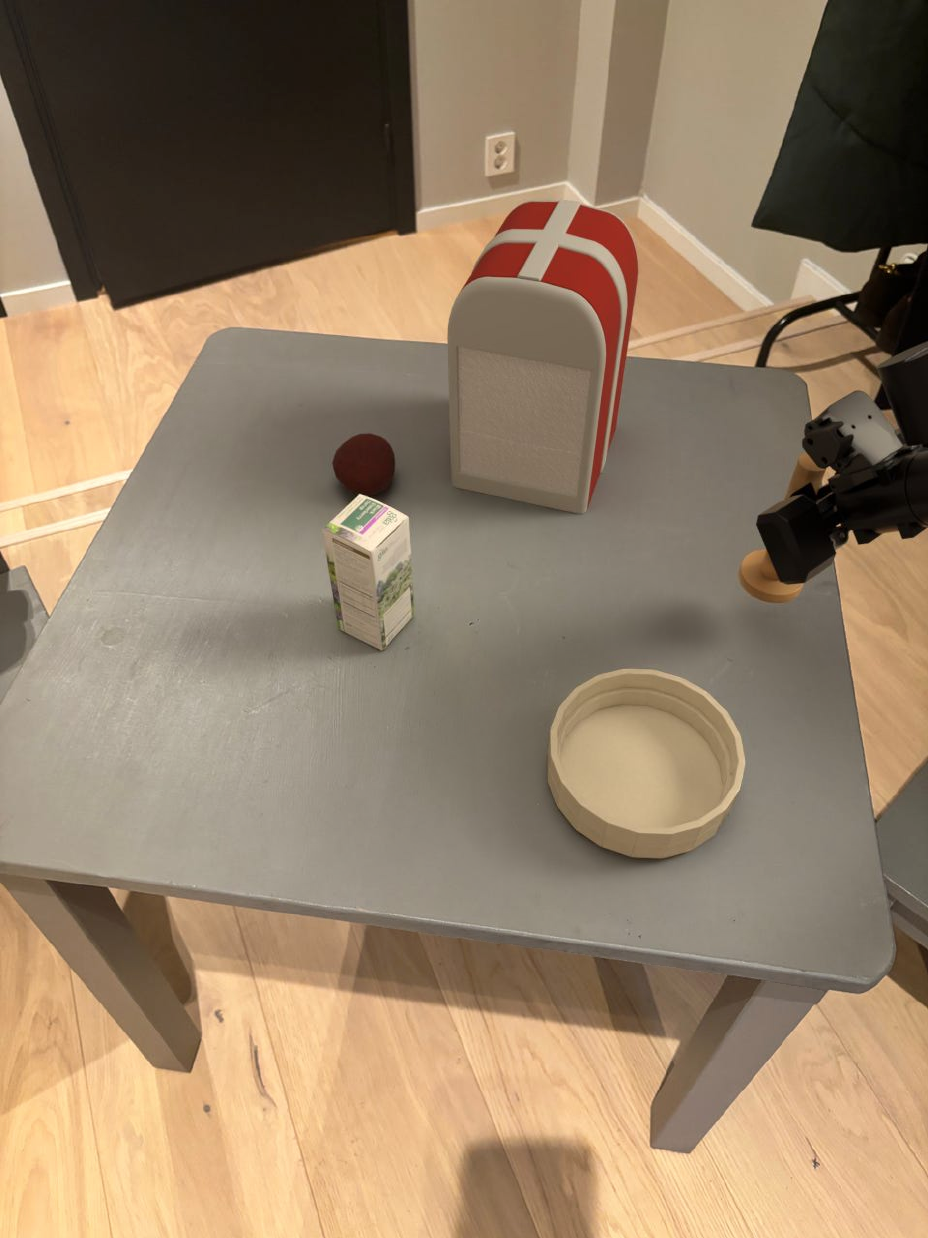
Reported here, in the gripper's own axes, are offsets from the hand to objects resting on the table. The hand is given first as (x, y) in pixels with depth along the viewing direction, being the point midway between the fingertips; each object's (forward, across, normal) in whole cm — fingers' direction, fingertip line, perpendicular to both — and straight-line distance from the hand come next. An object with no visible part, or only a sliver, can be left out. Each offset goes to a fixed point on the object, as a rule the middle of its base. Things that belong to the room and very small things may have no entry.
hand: (778, 515), depth 81 cm
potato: (+38, +20, -19) cm, 47 cm away
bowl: (+4, +22, +15) cm, 27 cm away
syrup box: (+25, +31, -6) cm, 40 cm away
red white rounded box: (+32, +1, -13) cm, 35 cm away
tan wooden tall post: (+4, 0, +6) cm, 7 cm away
